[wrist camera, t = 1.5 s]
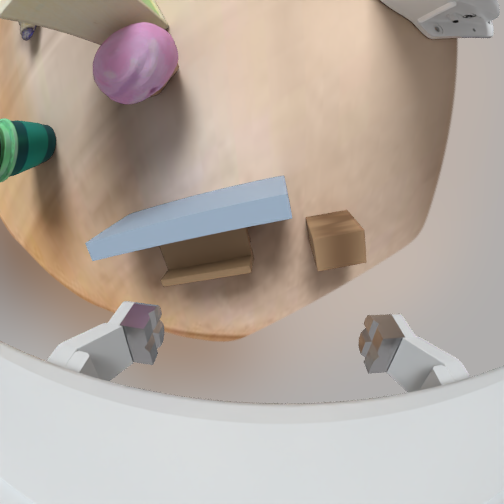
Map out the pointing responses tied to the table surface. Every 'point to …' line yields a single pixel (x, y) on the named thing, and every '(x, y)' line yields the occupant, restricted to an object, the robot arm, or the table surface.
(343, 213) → the tan wooden cube
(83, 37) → the toy refrigerator
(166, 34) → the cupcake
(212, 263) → the wall board
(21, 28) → the decorative bottle
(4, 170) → the cup
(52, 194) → the table surface
